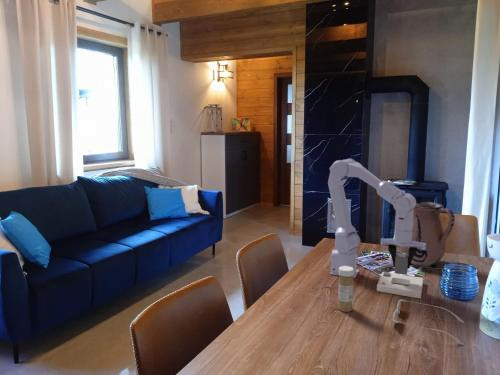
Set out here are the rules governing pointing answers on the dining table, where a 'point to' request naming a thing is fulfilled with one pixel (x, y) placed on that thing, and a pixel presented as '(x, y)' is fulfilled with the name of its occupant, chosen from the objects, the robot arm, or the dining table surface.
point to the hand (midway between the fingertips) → (401, 266)
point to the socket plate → (411, 290)
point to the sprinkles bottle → (345, 288)
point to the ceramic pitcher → (429, 233)
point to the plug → (401, 263)
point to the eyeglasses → (423, 327)
